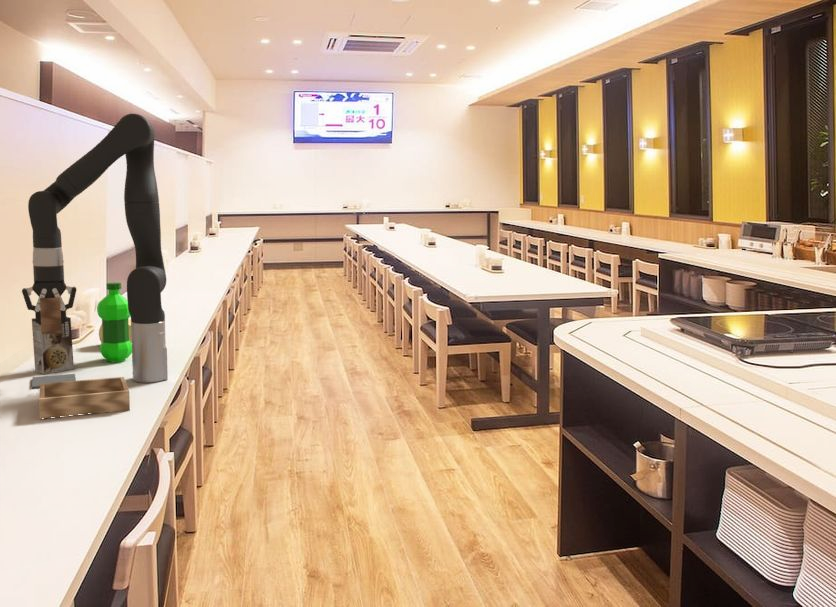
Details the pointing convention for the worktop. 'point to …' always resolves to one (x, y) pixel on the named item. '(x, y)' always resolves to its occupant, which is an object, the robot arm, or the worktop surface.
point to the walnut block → (50, 315)
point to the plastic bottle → (114, 325)
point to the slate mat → (52, 379)
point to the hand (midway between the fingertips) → (51, 323)
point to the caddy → (83, 397)
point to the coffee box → (53, 349)
